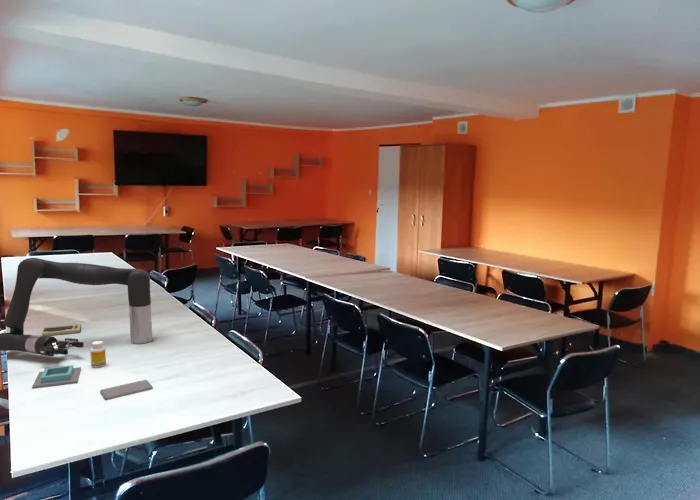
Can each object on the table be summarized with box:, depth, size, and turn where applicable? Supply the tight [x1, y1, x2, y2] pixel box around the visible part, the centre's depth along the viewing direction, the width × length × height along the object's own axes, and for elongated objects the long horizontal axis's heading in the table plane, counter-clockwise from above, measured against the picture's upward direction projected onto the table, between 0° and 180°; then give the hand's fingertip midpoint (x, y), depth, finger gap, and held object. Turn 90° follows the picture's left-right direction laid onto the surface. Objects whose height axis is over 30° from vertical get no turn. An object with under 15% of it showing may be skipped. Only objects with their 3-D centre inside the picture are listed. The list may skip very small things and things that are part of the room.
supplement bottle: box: [89, 340, 107, 368], centre depth 196 cm, size 5×5×10 cm
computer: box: [41, 323, 82, 337], centre depth 236 cm, size 16×8×3 cm, turn 115°
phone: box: [99, 379, 153, 401], centre depth 175 cm, size 8×16×1 cm, turn 128°
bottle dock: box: [31, 364, 82, 389], centre depth 183 cm, size 14×14×3 cm
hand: (75, 348), depth 198 cm, fingers open, 8 cm apart
